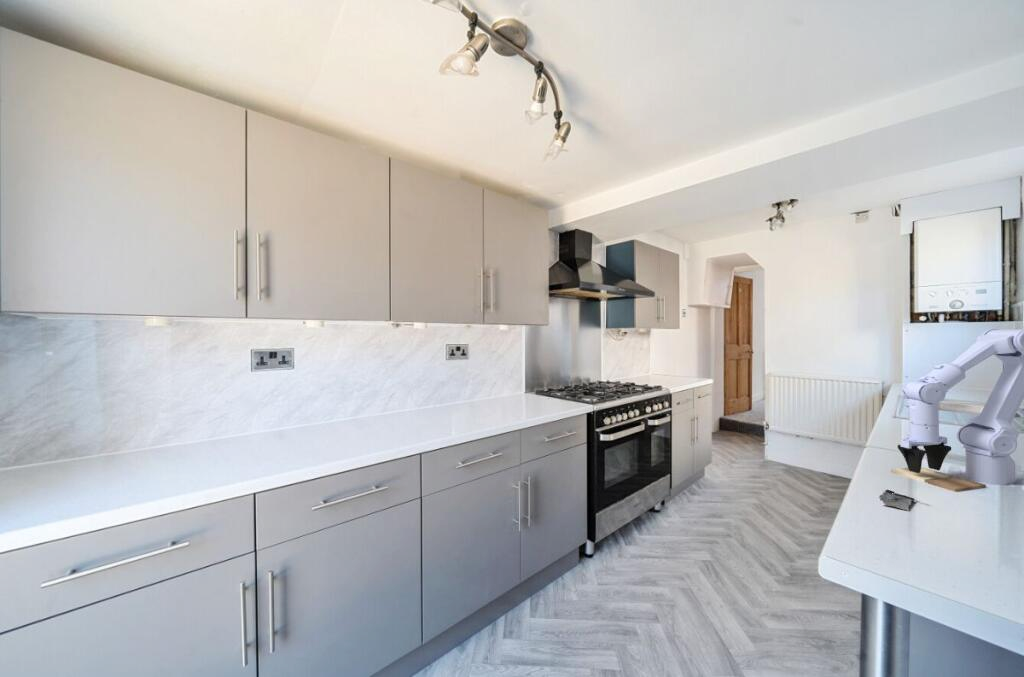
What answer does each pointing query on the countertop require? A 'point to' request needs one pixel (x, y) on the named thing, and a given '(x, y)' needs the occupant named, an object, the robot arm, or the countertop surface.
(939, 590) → the countertop surface
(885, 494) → the driftwood
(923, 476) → the plank
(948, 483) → the floor row
